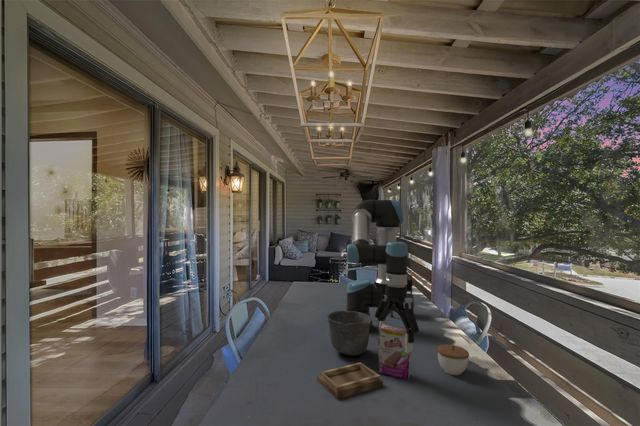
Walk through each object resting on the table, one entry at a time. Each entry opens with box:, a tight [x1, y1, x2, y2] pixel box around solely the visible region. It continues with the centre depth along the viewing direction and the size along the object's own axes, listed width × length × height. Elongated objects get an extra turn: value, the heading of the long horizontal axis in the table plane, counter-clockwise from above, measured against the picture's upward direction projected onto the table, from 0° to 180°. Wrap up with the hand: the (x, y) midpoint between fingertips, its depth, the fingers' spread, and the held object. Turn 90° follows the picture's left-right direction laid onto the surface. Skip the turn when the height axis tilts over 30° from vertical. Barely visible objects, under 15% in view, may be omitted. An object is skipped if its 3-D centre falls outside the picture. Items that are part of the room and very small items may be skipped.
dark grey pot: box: [326, 310, 373, 357], centre depth 133 cm, size 18×18×15 cm
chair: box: [389, 273, 415, 317], centre depth 189 cm, size 13×17×22 cm
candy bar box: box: [377, 324, 412, 380], centre depth 116 cm, size 11×5×16 cm, turn 65°
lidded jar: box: [437, 344, 470, 376], centre depth 119 cm, size 11×11×9 cm
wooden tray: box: [316, 361, 384, 400], centre depth 109 cm, size 18×13×3 cm
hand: (394, 344), depth 116 cm, fingers open, 13 cm apart
